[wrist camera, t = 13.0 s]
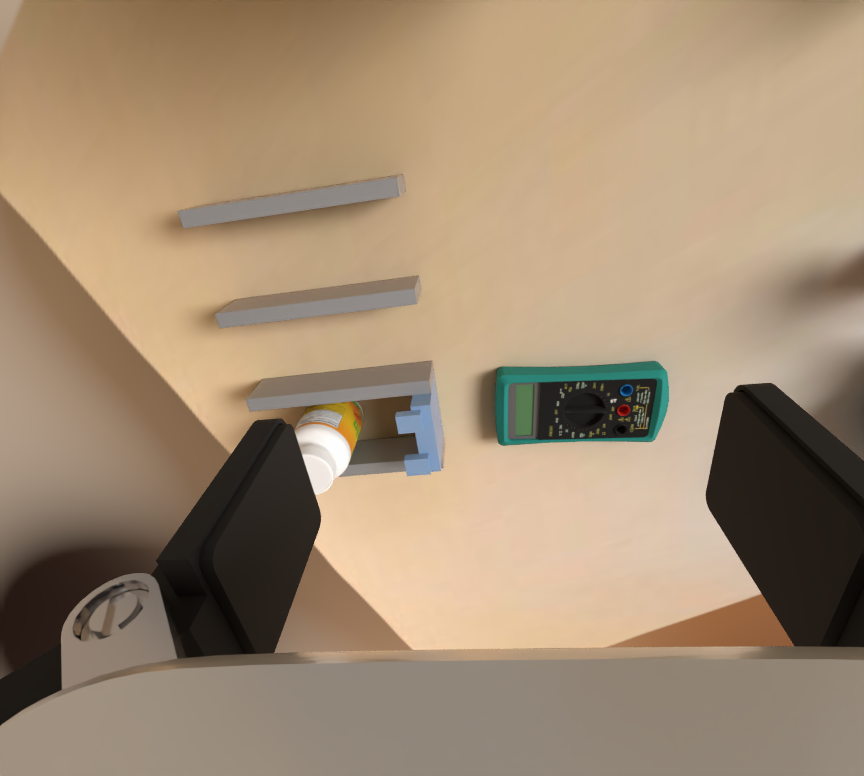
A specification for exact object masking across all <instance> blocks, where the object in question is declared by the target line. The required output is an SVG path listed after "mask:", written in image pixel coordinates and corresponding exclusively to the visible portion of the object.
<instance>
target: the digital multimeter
mask: <svg viewBox="0 0 864 776" xmlns="http://www.w3.org/2000/svg"><path fill="white" fill-rule="evenodd" d="M626 379H629V380H626ZM595 380H599V381H595ZM566 381H570V382H566ZM655 393H656V394H655ZM598 394H599V395H598ZM654 399H655V400H654ZM668 401H669V386H668V376H667V371H666V370H665V369H664V368H663V367H662V366H661V365H660V364H659V363H658V362H656V361H652V362H640V363H629V364H615V365H599V366H580V367H500V368H499V369H498V370H497V374H496V385H495V418H496V429H497V437H498V442H499V444H500V445H503V446H505V445H520V444H534V443H550V442H577V441H627V442H652V441H654V440H655V438H656V436H657V434H658V432H659V430H660V428H661V426H662V423H663V421H664V418H665V415H666V412H667V407H668ZM653 404H654V405H653ZM652 410H653V411H652ZM651 416H652V417H651ZM567 424H568V425H567ZM582 429H583V430H582Z"/></svg>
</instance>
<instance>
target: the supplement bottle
mask: <svg viewBox="0 0 864 776" xmlns="http://www.w3.org/2000/svg"><path fill="white" fill-rule="evenodd" d="M363 420H364V415H363V410H362V408H361V406H360V404H359V403H358V402H357V401H350V402H340V403H330V404H320V405H310V406H308V407H307V409H306V410H305V412H304V414H303V415H302V417H301V419H300V421H299V422H298V424H297V426H296V427H295V429H294V431H295V434H296V437H297V440H298V443H299V447H300V450H301V453H302V456H303V459H304V462H305V465H306V468H307V472H308V475H309V478H310V481H311V484H312V487H313V490H314V493H315V495H318V494H321V493H323V492H325V491H327V490H328V489H329V488H330V486H331V485H332V483H333V480H334V479H335V478H337V477H338V476H340V475H341V474H342V473H343V472H344V471H345V470H346V468H347V466H348V464H349V462H350V459H351V456H352V453H353V451H354V448H355V445H356V442H357V439H358V436H359V434H360V431H361V428H362V425H363Z"/></svg>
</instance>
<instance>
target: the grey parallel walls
mask: <svg viewBox="0 0 864 776" xmlns="http://www.w3.org/2000/svg"><path fill="white" fill-rule="evenodd" d="M404 192H406V189H405V183H404V176H403V174H401V175H395V176H388V177H382V178H375V179H369V180H363V181H356V182H350V183H343V184H337V185H330V186H324V187H317V188H311V189H304V190H298V191H291V192H285V193H279V194H272V195H266V196H259V197H253V198H246V199H240V200H233V201H227V202H220V203H214V204H208V205H202V206H198V207H193V208H189V209H185V210H180V211H177V212H178V214H179V217H180V220H181V223H182V225H183V228H190V227H197V226H204V225H210V224H217V223H224V222H231V221H237V220H244V219H251V218H257V217H264V216H271V215H277V214H284V213H291V212H297V211H304V210H311V209H317V208H324V207H331V206H337V205H344V204H351V203H357V202H364V201H371V200H378V199H384V198H391V197H398V196H401V195H402V194H403V193H404ZM420 292H421V286H420V280H419V276H412V277H405V278H397V279H389V280H382V281H374V282H366V283H358V284H351V285H343V286H335V287H328V288H320V289H312V290H304V291H297V292H289V293H281V294H274V295H266V296H258V297H250V298H243V299H236V300H234V301H233V302H231V303H230V304H228V305H227V306H226V307H224V308H223V309H221V310H220V311H218V312H217V313H215V317H216V319H217V322H218V325H219V328H226V327H235V326H243V325H251V324H259V323H267V322H275V321H283V320H292V319H300V318H308V317H316V316H324V315H332V314H340V313H349V312H357V311H365V310H373V309H381V308H389V307H397V306H406V305H414V304H417V303H418V299H419V296H420ZM409 395H412V401H411V406H410V408H411V411H402V412H396V415H395V419H396V424H397V429H398V434H406V433H415V435H416V436H406V437H395V438H385V439H374V440H363V441H357V442H356V445H355V448H354V451H353V453H352V456H351V459H350V462H349V464H348V466H347V468H346V470H345V471H344V472H343V473H342V474H341V475H340V476H338V477H343V476H355V475H367V474H379V473H391V472H403V471H406V473H407V476H414V475H427V474H431V472H434V471H441V468H444V450H445V441H444V435H443V428H442V422H441V415H440V409H439V402H438V396H437V389H436V383H435V376H434V370H433V364H432V361H425V362H416V363H407V364H398V365H388V366H379V367H370V368H361V369H352V370H342V371H333V372H324V373H315V374H306V375H296V376H287V377H278V378H269V379H263V380H262V381H261V382H260V383H259V384H258V385H257V387H256V388H255V389H254V390H253V391H252V392H251V394H250V395H249V396H248V397H247V398H246V399H245V400H246V402H247V405H248V408H249V411H250V412H251V411H260V410H270V409H280V408H290V407H300V406H310V405H320V404H330V403H340V402H350V401H360V400H370V399H379V398H389V397H399V396H409Z"/></svg>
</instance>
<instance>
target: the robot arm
mask: <svg viewBox="0 0 864 776" xmlns="http://www.w3.org/2000/svg"><path fill="white" fill-rule="evenodd" d="M706 501H707V505H708V508H709V510H710V511H711V513H712V515H713V516H714V518H715V519H716V521H717V523H718V524H719V526H720V527H721V529H722V531H723V532H724V534H725V535H726V537H727V539H728V540H729V542H730V543H731V545H732V547H733V548H734V550H735V551H736V553H737V555H738V556H739V558H740V559H741V561H742V563H743V564H744V566H745V567H746V569H747V571H748V572H749V574H750V575H751V577H752V579H753V580H754V582H755V583H756V585H757V587H758V588H759V590H760V592H761V593H762V595H763V596H764V598H765V599H766V601H767V603H768V604H769V606H770V608H771V609H772V611H773V612H774V614H775V616H776V617H777V619H778V620H779V622H780V623H781V625H782V627H783V628H784V630H785V631H786V633H787V635H788V636H789V638H790V639H791V641H792V643H793V644H794V646H774V647H773V646H771V647H770V646H767V647H766V646H763V647H761V646H760V647H625V648H623V647H621V648H620V647H619V648H533V649H458V650H399V651H349V652H348V651H344V652H295V653H274V652H275V649H276V646H277V643H278V641H279V638H280V635H281V632H282V630H283V627H284V624H285V621H286V619H287V616H288V613H289V610H290V608H291V605H292V602H293V599H294V596H295V594H296V591H297V588H298V585H299V583H300V580H301V577H302V574H303V572H304V569H305V566H306V563H307V561H308V558H309V555H310V552H311V550H312V547H313V544H314V541H315V539H316V536H317V533H318V530H319V528H320V523H321V513H320V509H319V506H318V503H317V500H316V497H315V493H314V490H313V487H312V484H311V481H310V478H309V475H308V472H307V468H306V465H305V462H304V459H303V456H302V453H301V450H300V447H299V443H298V440H297V437H296V434H295V431H294V428H293V427H292V425H290V424H286V423H285V422H284V420H283V419H268V420H257V421H255V422H254V423H253V424H252V426H251V427H250V429H249V430H248V431H247V433H246V434H245V436H244V437H243V438H242V440H241V441H240V443H239V444H238V445H237V447H236V448H235V450H234V451H233V453H232V454H231V455H230V457H229V458H228V460H227V461H226V462H225V464H224V465H223V467H222V468H221V470H220V471H219V472H218V474H217V475H216V477H215V478H214V480H213V481H212V482H211V484H210V485H209V487H208V488H207V489H206V491H205V492H204V494H203V495H202V497H201V498H200V499H199V501H198V502H197V503H196V505H195V506H194V508H193V509H192V510H191V512H190V513H189V515H188V516H187V518H186V519H185V520H184V522H183V523H182V525H181V526H180V527H179V529H178V530H177V532H176V533H175V535H174V536H173V537H172V539H171V540H170V542H169V543H168V544H167V546H166V547H165V549H164V550H163V551H162V553H161V554H160V556H159V557H158V559H157V560H156V561H157V563H158V566H157V568H156V569H155V571H154V572H153V573H152V575H151V576H150V575H148V574H142V573H134V574H129V575H125V576H121V577H119V578H116V579H114V580H112V581H109V582H107V583H105V584H104V585H102V586H100V587H99V588H97V589H96V590H94V591H93V592H91V593H90V594H89V595H88V596H87V597H85V598H84V599H83V600H82V601H81V602H80V603H79V604H78V605H77V606H76V607H75V608H74V610H73V611H72V612H71V613H70V615H69V616H68V618H67V620H66V622H65V623H64V626H63V630H62V635H61V644H59V645H57V646H56V647H54V648H52V649H51V650H49V651H48V652H46V653H44V654H42V655H41V656H39V657H38V658H36V659H34V660H32V661H31V662H29V663H27V664H25V665H24V666H22V667H20V668H19V669H17V670H15V671H14V672H12V673H10V674H9V675H7V676H5V677H3V678H2V679H0V776H864V461H863V460H862V459H861V458H859V457H858V456H857V455H856V454H855V453H854V452H852V451H851V450H850V449H849V448H848V447H847V446H845V445H844V444H843V443H842V442H841V441H840V440H838V439H837V438H836V437H835V436H834V435H833V434H831V433H830V432H829V431H828V430H827V429H826V428H824V427H823V426H822V425H821V424H820V423H819V422H817V421H816V420H815V419H814V418H813V417H812V416H810V415H809V414H808V413H807V412H806V411H805V410H803V409H802V408H801V407H800V406H799V405H798V404H796V403H795V402H794V401H793V400H792V399H791V398H789V397H788V396H787V395H786V394H785V393H784V392H782V391H781V390H780V389H779V388H778V387H777V386H775V385H774V384H772V383H761V384H748V385H739V386H737V387H736V388H735V390H734V392H733V393H728V394H727V396H726V397H725V401H724V406H723V411H722V416H721V420H720V425H719V430H718V435H717V440H716V445H715V450H714V455H713V460H712V465H711V470H710V475H709V480H708V485H707V490H706Z"/></svg>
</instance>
